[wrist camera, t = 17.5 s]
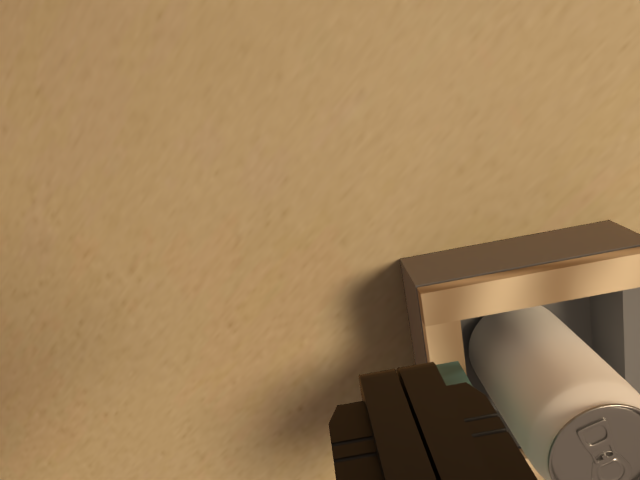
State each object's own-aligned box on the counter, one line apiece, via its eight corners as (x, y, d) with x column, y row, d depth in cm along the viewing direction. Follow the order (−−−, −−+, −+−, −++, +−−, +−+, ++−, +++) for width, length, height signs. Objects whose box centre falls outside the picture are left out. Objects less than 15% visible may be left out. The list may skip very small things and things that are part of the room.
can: (487, 400, 40) (566, 532, 28) (451, 324, 38) (519, 433, 27) (574, 360, 39) (690, 478, 28) (540, 282, 38) (650, 374, 26)
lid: (445, 489, 37) (512, 672, 25) (416, 287, 33) (482, 399, 21) (661, 449, 37) (824, 616, 25) (659, 242, 33) (852, 332, 21)
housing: (426, 438, 42) (443, 485, 37) (399, 258, 38) (415, 285, 33) (615, 403, 42) (658, 446, 37) (609, 220, 38) (655, 241, 33)
